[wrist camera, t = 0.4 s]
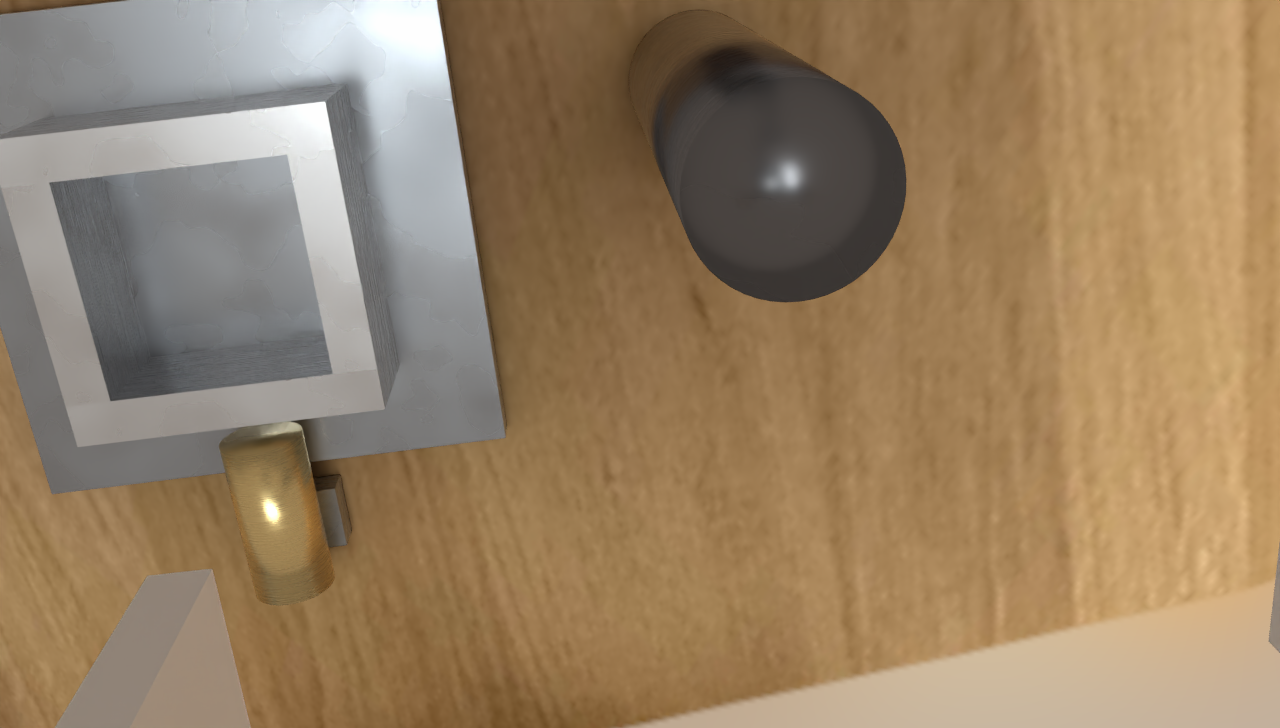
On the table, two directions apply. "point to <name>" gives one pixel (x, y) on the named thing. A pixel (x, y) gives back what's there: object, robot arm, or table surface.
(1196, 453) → the table surface
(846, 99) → the dark cylinder
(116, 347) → the open box on baseplate
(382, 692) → the table surface
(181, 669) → the robot arm
